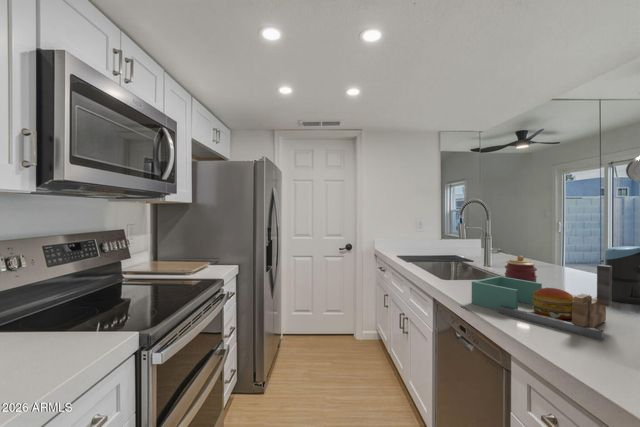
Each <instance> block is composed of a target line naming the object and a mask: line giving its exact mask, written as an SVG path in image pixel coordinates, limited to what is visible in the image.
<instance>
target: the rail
mask: <svg viewBox="0 0 640 427" xmlns="http://www.w3.org/2000/svg"><path fill="white" fill-rule="evenodd" d="M497 311H498V312H497V313H498V314H500V315H505V316H509V317H513V318H515V319H519V320H520V319H521V320H524V321H528V322H531V323H535V324H539V325H542V326H546V327H550V328H555V329H558V330H560V331H565V332H569V333H572V334H576V335H580V336H583V337H587V338H591V339H594V340H599V341H603V340H604V339H605V330H603V329H600V328H595V327H594V328H591V327H587V326H584V327H583V326H579V325H575V324H572V321H571V322H569V321H566V320H564V319H556V318H550V317H546V316H542V315H540V314H537V313H533V312H531V311H525V310H521V309H514V308H509V307H505V306H498V310H497Z"/></svg>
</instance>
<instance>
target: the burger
mask: <svg viewBox="0 0 640 427" xmlns="http://www.w3.org/2000/svg"><path fill="white" fill-rule="evenodd" d="M574 297H575V296H573V295H572V294H570V293H569V292H568V291H566V290H563V289H560V288H555V287H542V289H538V290H536V291H535V292H534V293H533V298H532V300H533V304H531V307H532V310H533V311H534V312H535V314H538V315H542V316H546V317H550V318H554V319H559V320H572V301H574Z"/></svg>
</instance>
